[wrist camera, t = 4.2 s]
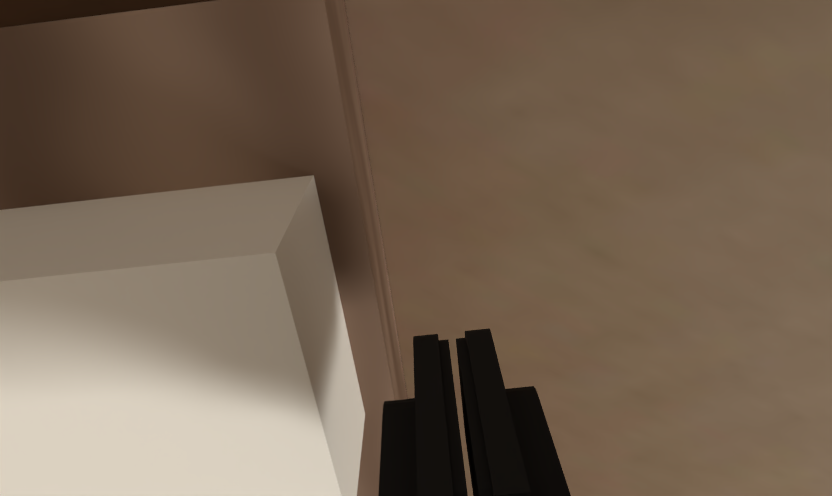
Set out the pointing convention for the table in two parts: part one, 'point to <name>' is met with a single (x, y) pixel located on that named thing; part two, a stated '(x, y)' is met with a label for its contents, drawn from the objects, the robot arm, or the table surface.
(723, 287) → the table surface
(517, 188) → the table surface
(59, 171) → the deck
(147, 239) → the cream rectangular block
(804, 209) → the table surface
